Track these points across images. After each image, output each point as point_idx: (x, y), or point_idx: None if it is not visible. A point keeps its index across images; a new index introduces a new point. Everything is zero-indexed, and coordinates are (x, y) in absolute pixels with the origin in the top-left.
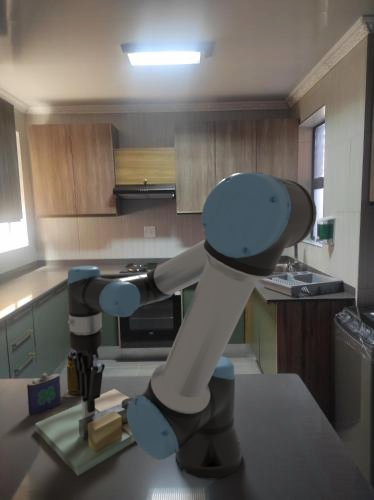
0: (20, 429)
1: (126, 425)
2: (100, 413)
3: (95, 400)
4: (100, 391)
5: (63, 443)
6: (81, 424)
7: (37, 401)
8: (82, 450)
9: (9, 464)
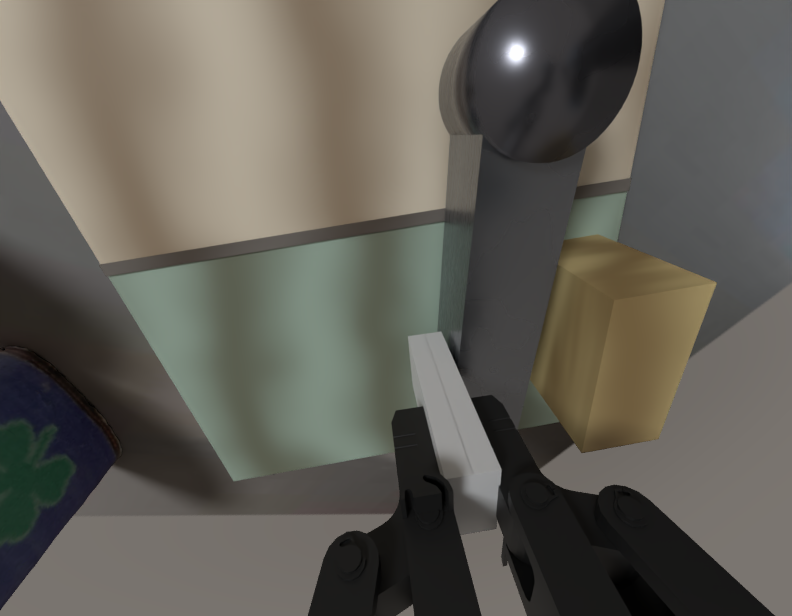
0: (206, 484)
1: None
2: (481, 336)
3: (112, 202)
4: (723, 570)
5: None
6: None
7: (61, 498)
8: None
9: (379, 506)
